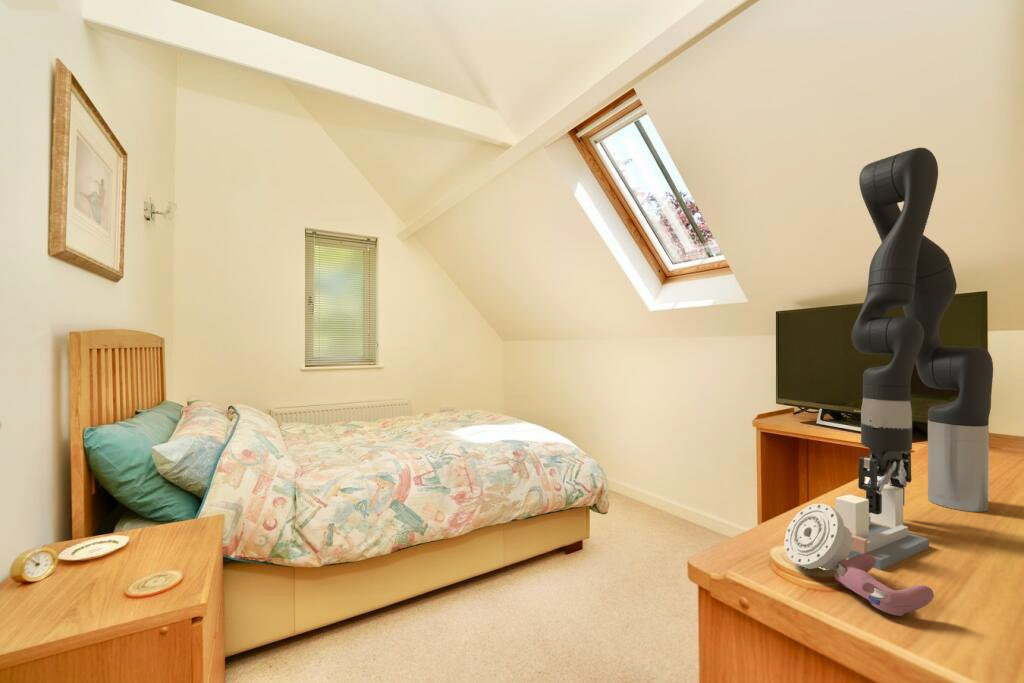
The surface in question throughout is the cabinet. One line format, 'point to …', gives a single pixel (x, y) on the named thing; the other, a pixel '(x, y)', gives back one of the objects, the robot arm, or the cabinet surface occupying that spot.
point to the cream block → (890, 507)
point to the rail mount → (876, 534)
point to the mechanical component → (818, 538)
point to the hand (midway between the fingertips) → (885, 509)
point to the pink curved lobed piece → (880, 587)
